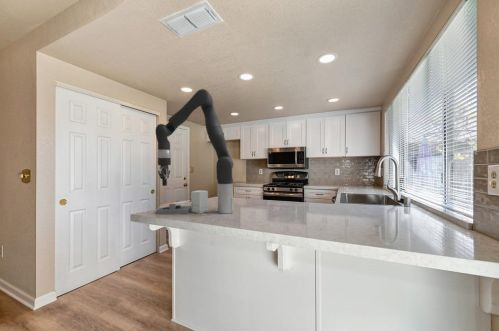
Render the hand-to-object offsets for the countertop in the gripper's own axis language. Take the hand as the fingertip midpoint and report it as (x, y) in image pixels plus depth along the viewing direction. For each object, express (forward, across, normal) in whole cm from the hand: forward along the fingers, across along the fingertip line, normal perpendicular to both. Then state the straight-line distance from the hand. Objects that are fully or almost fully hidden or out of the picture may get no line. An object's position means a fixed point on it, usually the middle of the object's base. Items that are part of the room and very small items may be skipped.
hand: (164, 185), depth 133 cm
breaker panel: (+16, 0, -6) cm, 17 cm away
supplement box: (+16, 0, -21) cm, 27 cm away
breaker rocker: (+11, 0, -6) cm, 13 cm away
